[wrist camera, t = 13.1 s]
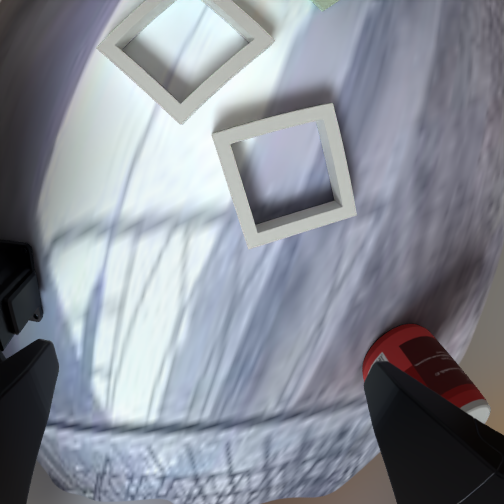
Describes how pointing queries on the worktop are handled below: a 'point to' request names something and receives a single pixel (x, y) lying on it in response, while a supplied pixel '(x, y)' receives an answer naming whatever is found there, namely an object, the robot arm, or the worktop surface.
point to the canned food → (428, 367)
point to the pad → (324, 3)
